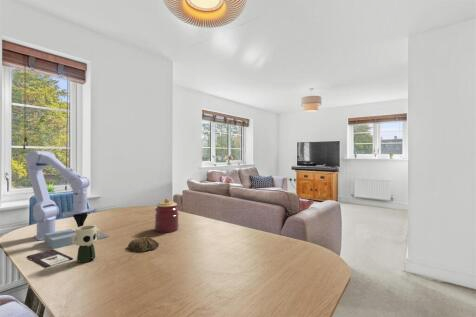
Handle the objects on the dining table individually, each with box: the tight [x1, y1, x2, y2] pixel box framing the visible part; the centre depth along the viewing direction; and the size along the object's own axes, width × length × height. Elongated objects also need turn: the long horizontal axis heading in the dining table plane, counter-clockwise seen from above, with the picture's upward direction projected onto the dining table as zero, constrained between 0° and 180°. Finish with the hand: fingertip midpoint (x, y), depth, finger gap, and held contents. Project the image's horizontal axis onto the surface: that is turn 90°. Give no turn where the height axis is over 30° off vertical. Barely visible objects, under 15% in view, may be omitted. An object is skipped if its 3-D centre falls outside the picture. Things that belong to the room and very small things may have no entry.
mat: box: [96, 231, 110, 241], centre depth 128 cm, size 16×12×1 cm
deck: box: [44, 228, 76, 250], centre depth 119 cm, size 14×11×4 cm
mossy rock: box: [127, 236, 160, 253], centre depth 113 cm, size 13×12×5 cm
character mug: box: [72, 224, 100, 263], centre depth 99 cm, size 11×7×13 cm, turn 153°
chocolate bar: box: [26, 248, 74, 269], centre depth 101 cm, size 9×1×18 cm
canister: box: [154, 197, 180, 233], centre depth 141 cm, size 13×13×18 cm
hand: (80, 228), depth 125 cm, fingers closed
